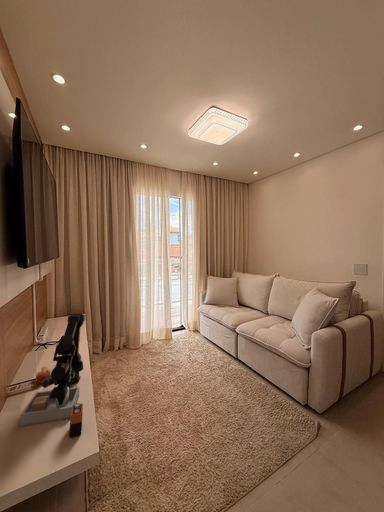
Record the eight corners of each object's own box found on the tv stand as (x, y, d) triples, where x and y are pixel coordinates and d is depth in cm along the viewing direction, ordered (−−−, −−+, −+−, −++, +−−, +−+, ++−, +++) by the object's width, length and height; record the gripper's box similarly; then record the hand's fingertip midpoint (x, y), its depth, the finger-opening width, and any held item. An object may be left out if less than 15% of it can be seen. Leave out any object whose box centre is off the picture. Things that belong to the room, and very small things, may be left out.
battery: (82, 423, 92) (83, 400, 92) (81, 435, 86) (82, 410, 86) (70, 426, 90) (71, 403, 90) (69, 439, 84) (70, 413, 84)
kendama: (34, 375, 130) (32, 385, 115) (37, 364, 132) (36, 373, 117) (49, 374, 134) (49, 384, 119) (52, 363, 136) (52, 372, 121)
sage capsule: (69, 400, 104) (70, 385, 104) (66, 406, 99) (67, 391, 99) (58, 401, 102) (58, 387, 102) (54, 408, 97) (55, 393, 98)
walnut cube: (36, 407, 100) (36, 397, 100) (48, 405, 101) (48, 395, 101) (31, 415, 95) (32, 404, 95) (44, 413, 96) (44, 402, 96)
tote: (35, 402, 104) (36, 392, 104) (79, 396, 110) (79, 386, 110) (19, 426, 89) (20, 414, 89) (71, 418, 95) (71, 407, 95)
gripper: (52, 361, 108) (50, 391, 107) (36, 381, 90) (34, 418, 89) (76, 358, 111) (74, 388, 110) (65, 378, 93) (63, 413, 93)
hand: (62, 401), depth 101 cm, fingers closed on sage capsule, 5 cm apart
